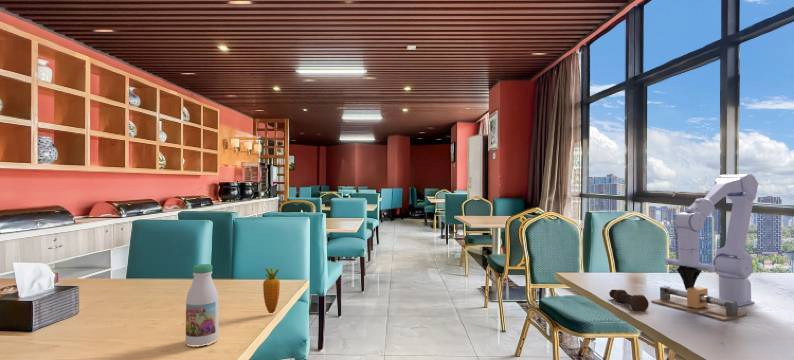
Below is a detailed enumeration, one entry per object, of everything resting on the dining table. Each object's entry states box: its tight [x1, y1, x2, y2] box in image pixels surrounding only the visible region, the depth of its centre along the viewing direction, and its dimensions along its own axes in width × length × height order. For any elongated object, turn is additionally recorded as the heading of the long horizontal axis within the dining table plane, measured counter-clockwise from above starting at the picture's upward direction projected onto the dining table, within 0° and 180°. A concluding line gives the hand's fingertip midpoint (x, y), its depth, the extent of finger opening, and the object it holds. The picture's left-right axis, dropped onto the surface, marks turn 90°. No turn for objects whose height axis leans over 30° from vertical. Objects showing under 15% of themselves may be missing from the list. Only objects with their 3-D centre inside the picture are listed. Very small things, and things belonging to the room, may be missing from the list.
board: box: [650, 296, 748, 322], centre depth 134 cm, size 22×12×1 cm, turn 25°
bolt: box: [608, 289, 650, 313], centre depth 139 cm, size 6×5×15 cm
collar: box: [686, 286, 709, 308], centre depth 134 cm, size 3×6×6 cm, turn 115°
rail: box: [659, 285, 739, 317], centre depth 134 cm, size 22×3×5 cm, turn 25°
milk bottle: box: [185, 263, 220, 345], centre depth 107 cm, size 8×8×20 cm
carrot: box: [262, 266, 281, 314], centre depth 129 cm, size 5×5×15 cm
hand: (689, 289), depth 136 cm, fingers closed
